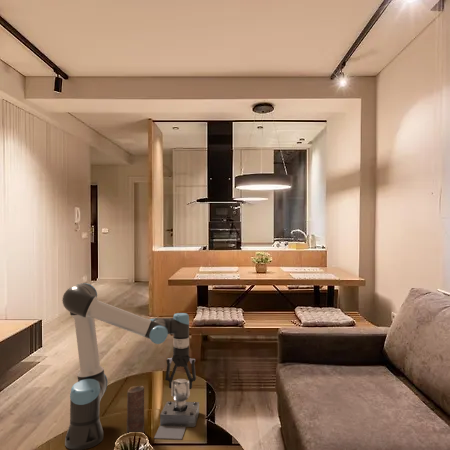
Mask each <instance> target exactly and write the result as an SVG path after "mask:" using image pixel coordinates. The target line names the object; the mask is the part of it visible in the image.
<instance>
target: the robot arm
mask: <svg viewBox="0 0 450 450" xmlns="http://www.w3.org/2000/svg"><path fill="white" fill-rule="evenodd" d="M61 301H62V304H63V307H64V308H65V309H66V311H68V312H69V315H70V316H69V317H72V318H73V321H74V327H75V334H76V335H75V336H76V337H75V338H76V344H77V352H78V353H77V354H78V361H79V362H78V363H79V371H78V373H76V375H77V376H76V377H77V382H75V383H74V384H72V387H71V389H70V393H69V399H70V402H69V406H70V407H69V408H70V409H69V426H68V428H67V431H66V435H65V438H64V446H65V447H66V448H67V449H68V450H88V449H91V448H94V447H96V446H97V445H99V444H100V443H101V442H103V440H104V430H103V426H102V423H101V419H100V403H101V400H102V398H103V396H104V395H105V392H106V391H107V389H108V377H107V375H106V374H105V369H104V367H103V366H102V365H101V364H100V355H99V346H98V337H97V330H96V323H95V320H98V321H101V322H104V323H106V324H108V325H112V326H114V327H117V328H119V329H123V330H125V331H127V332H131V333H133V334H135V335H139V336H140V337H141V336H142V337H144V338H147V339H149V340H150V341H151V342H152V343H153V344H155V345H160V344H163V343H164V342H165V341H166V339H167V338H168V335H172V336H173V339H172V340H173V343H172V345H173V348H172V351H173V353H172V357H168V358H167V359H166V364H167V365H166V372H165V373H166V374H165V379H164V380H165V381H168V382H169V383H168V385H169V386H168V388H169V389H171V391H170V393H171V394H170V395H171V397H173V382H174V380H173V379H174V377H175V374H176V371H177V368H180V367H182V368H183V369H184V370H185V374H186V377H187V380H188V384H187V397H188V398H190V396H191V390H192V388H193V382H196V379H197V374H196V365H195V364H196V358H191V357H190V347H189V346H190V316H189V314H188V313H186V312H177V313H176V312H175V313H174V314H173V317H169V318H168V317H166V318H165V317H163V318H162V317H160V318H158V317H155V318H150V319H149V318H147V317H143V316H140V315H138V314H135V313H133V312H130V311H128V310H125V309H122V308H119V307H117V306H114V305H111V304H109V303H107V302H104V301H102V300H99V299H98V292H97V289H96V288H95V287H94V286H93V285H92V284H90V283H87V282H83V283H78V284H76V285H74V286H70V287H69V288H67V290H65V292H64V293H63V295H62V300H61ZM172 362H173V364H174V367H173V370H172V371H171V367H172V366H171V364H172ZM189 362H190V364H191V370H190V369H189V366H188V363H189ZM170 372H171V373H170Z"/></svg>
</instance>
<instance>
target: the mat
mask: <svg viewBox="0 0 450 450" xmlns="http://www.w3.org/2000/svg"><path fill="white" fill-rule="evenodd" d="M186 428H187V427H181V426H160V425H159V426H158V429H157V431H156V433H155V434H154V437H153V440H177V441H182V440H183V437H184V434H185V431H186Z"/></svg>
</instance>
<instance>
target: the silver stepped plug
mask: <svg viewBox="0 0 450 450" xmlns="http://www.w3.org/2000/svg"><path fill="white" fill-rule="evenodd" d="M188 381H189V380H188V379H186V378H177V379H175V380H174V382H173V396H172V399H173V401H174V402H175V411H185V410H186V402H187V400H188V399H189V397H187V384H188Z"/></svg>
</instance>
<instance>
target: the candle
mask: <svg viewBox="0 0 450 450" xmlns="http://www.w3.org/2000/svg"><path fill="white" fill-rule="evenodd" d="M126 404H127V406H126V413H127V414H126V434H127V433H129V432H143V434H144V433H145V387H144V386H143V385H137V386H136V385H134V386H131V387H129V389H127V400H126Z"/></svg>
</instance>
